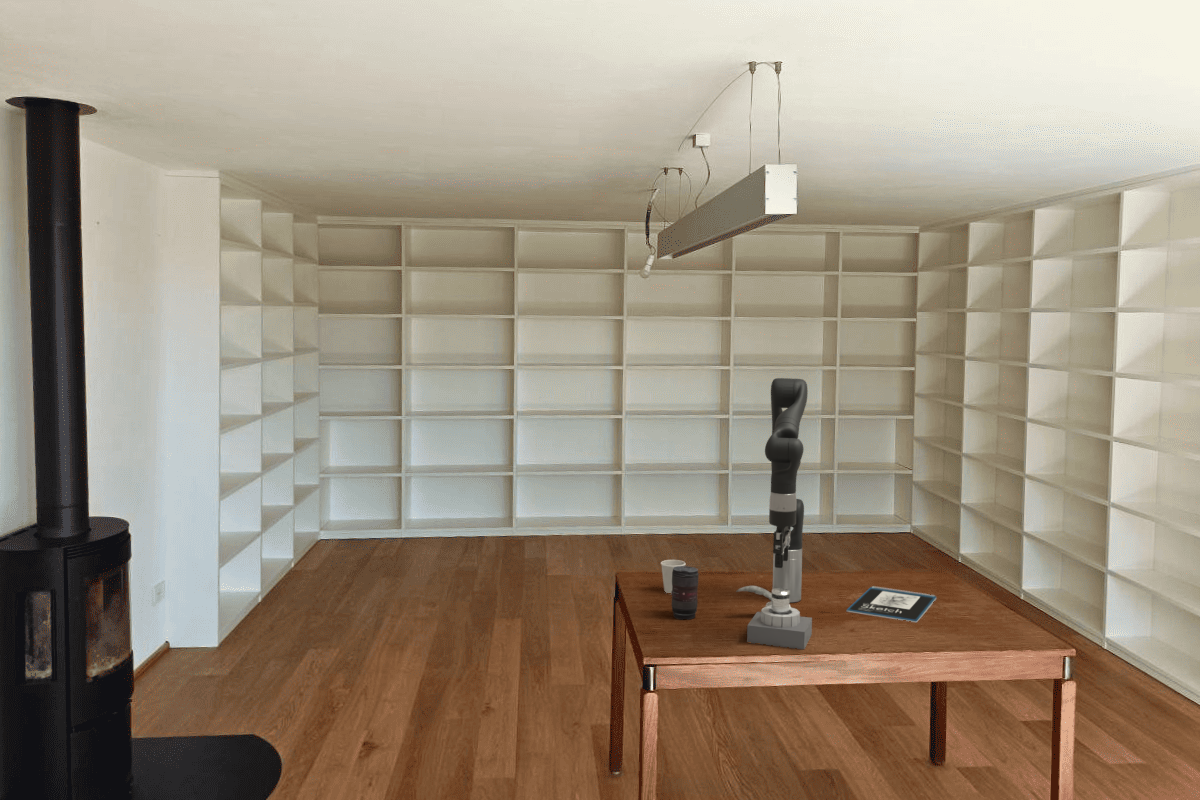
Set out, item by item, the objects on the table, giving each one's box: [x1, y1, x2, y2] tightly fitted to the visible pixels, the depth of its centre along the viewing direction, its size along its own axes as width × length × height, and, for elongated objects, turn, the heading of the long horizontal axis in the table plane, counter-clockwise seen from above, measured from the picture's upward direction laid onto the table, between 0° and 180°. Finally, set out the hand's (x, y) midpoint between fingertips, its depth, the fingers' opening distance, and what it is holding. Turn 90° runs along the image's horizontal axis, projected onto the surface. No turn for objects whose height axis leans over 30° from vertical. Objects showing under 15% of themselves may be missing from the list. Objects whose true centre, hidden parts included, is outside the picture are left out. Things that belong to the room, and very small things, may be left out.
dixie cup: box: [660, 559, 687, 594], centre depth 326 cm, size 8×8×10 cm
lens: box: [770, 588, 790, 615], centre depth 278 cm, size 5×5×9 cm
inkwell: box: [735, 585, 791, 607], centre depth 298 cm, size 9×18×10 cm, turn 99°
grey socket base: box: [746, 606, 813, 650], centre depth 278 cm, size 14×16×8 cm
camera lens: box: [670, 565, 699, 620], centre depth 298 cm, size 8×8×15 cm
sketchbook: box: [846, 585, 937, 623], centre depth 313 cm, size 22×30×2 cm
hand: (781, 564), depth 277 cm, fingers open, 8 cm apart
